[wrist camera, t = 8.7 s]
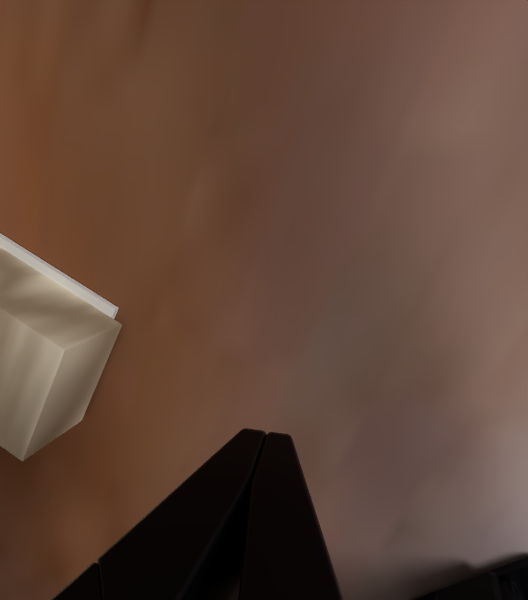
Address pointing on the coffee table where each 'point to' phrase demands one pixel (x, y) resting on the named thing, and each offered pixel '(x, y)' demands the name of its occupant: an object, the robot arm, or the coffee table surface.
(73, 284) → the mat
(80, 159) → the coffee table surface
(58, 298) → the birch block
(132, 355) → the coffee table surface
